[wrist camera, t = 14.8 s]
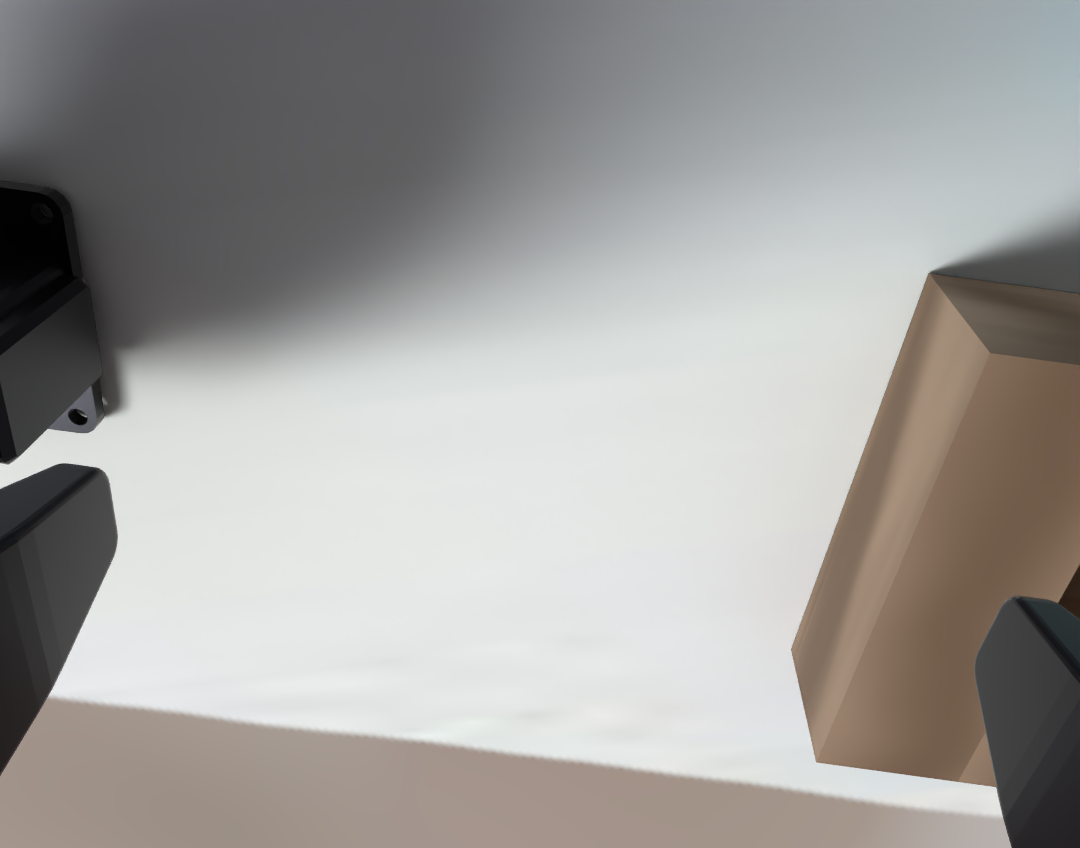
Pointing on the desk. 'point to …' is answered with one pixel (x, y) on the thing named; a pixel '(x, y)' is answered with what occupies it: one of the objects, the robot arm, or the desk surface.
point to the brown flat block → (946, 529)
